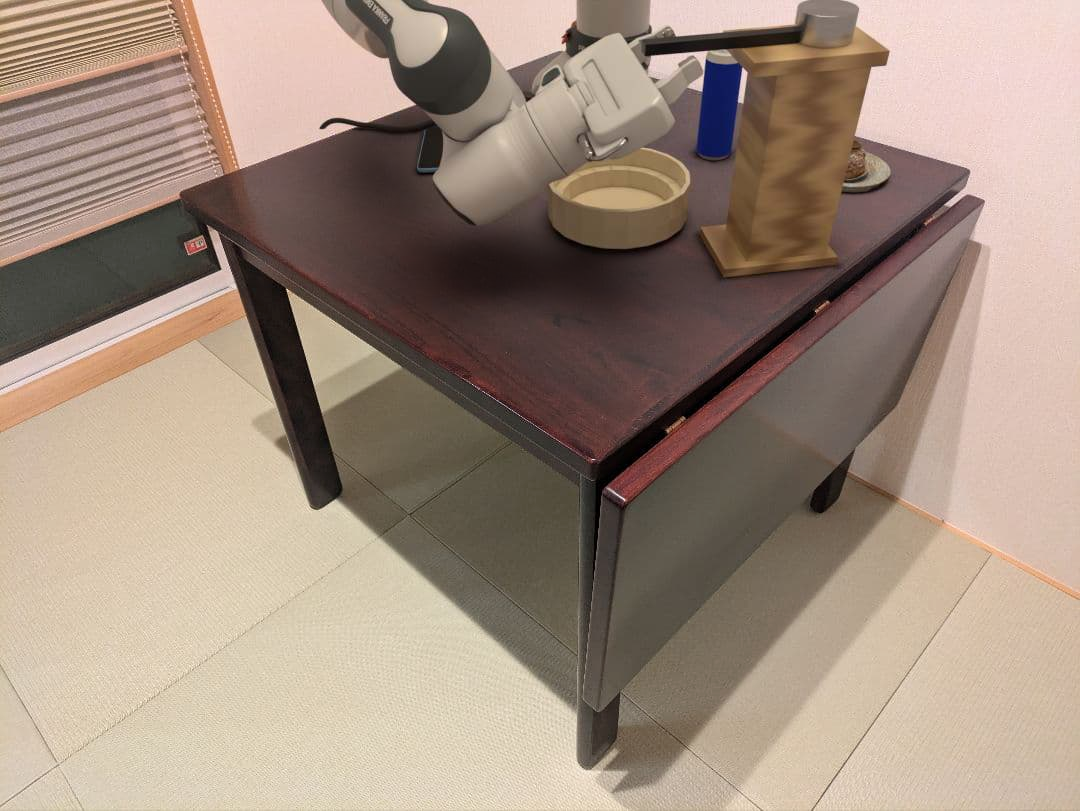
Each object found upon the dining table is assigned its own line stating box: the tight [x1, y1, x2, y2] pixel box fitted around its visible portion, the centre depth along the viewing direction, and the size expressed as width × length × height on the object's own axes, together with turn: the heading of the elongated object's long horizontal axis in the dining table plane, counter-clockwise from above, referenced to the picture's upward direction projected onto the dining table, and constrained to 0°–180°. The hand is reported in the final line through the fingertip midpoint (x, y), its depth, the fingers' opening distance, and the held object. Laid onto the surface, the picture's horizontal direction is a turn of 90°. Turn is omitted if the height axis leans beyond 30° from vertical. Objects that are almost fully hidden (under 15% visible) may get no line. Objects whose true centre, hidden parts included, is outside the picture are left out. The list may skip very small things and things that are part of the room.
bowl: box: [546, 147, 691, 250], centre depth 104 cm, size 18×18×6 cm
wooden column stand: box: [699, 24, 891, 278], centre depth 90 cm, size 14×10×25 cm
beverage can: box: [695, 49, 744, 161], centre depth 114 cm, size 5×5×15 cm
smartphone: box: [416, 126, 443, 174], centre depth 122 cm, size 7×1×15 cm
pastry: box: [841, 140, 892, 193], centre depth 111 cm, size 12×12×5 cm
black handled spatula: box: [641, 0, 860, 57], centre depth 80 cm, size 22×6×3 cm, turn 98°
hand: (686, 47), depth 81 cm, fingers open, 8 cm apart
